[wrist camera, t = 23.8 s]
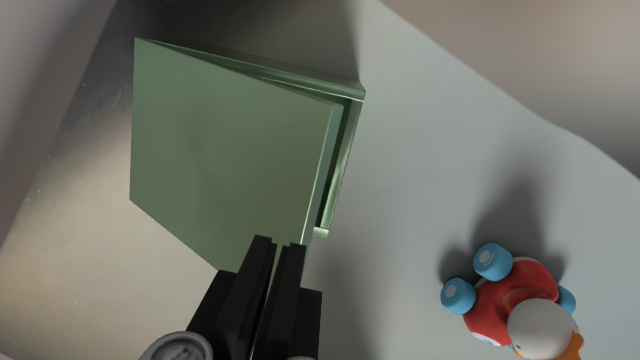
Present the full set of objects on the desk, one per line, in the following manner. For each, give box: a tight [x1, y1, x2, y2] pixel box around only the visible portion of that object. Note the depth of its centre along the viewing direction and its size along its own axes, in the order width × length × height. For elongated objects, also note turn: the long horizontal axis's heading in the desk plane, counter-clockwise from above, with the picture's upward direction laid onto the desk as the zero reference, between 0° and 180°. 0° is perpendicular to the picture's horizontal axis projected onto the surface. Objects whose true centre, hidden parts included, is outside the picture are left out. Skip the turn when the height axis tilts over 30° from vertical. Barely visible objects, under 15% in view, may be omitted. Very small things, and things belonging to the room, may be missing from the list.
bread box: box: [146, 38, 366, 238], centre depth 26 cm, size 13×10×7 cm
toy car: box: [441, 243, 584, 360], centre depth 29 cm, size 9×9×10 cm
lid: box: [130, 37, 344, 305], centre depth 19 cm, size 14×10×1 cm
